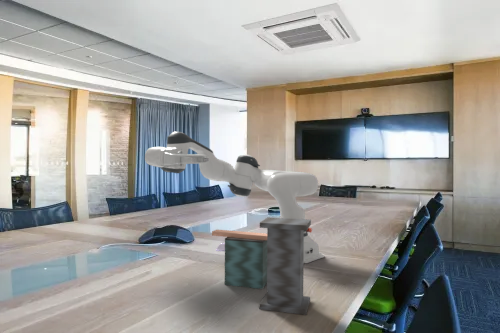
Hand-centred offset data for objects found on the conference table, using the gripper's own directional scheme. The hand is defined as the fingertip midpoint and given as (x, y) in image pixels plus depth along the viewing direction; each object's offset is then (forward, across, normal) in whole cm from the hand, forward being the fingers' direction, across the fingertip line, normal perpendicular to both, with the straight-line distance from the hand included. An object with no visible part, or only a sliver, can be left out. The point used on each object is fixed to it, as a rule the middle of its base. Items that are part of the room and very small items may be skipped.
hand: (200, 160), depth 138 cm
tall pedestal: (+45, +11, -42) cm, 63 cm away
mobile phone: (-13, -37, -46) cm, 60 cm away
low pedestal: (+24, 0, -43) cm, 50 cm away
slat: (+23, +1, -27) cm, 35 cm away
